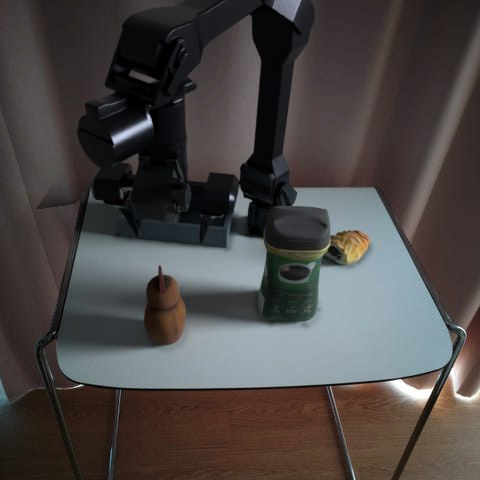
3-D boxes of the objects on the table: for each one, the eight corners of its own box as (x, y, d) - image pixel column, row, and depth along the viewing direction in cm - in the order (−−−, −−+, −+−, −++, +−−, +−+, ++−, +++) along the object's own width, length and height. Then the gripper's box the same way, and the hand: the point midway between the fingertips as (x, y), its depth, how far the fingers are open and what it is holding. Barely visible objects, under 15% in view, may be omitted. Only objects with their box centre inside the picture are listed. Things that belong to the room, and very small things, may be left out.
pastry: (349, 232, 96) (353, 216, 93) (377, 250, 93) (382, 233, 90) (317, 252, 92) (320, 236, 89) (345, 271, 88) (350, 254, 86)
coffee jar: (313, 291, 84) (332, 198, 71) (317, 326, 79) (338, 232, 65) (257, 289, 84) (265, 195, 71) (256, 323, 79) (265, 228, 65)
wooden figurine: (179, 355, 74) (172, 281, 63) (142, 348, 75) (129, 274, 64) (191, 322, 78) (187, 248, 67) (156, 316, 79) (146, 242, 68)
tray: (234, 214, 99) (234, 197, 96) (226, 247, 92) (227, 230, 89) (133, 204, 100) (131, 187, 97) (119, 236, 93) (116, 218, 90)
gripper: (63, 160, 55) (88, 266, 66) (229, 178, 54) (225, 283, 65) (96, 116, 63) (113, 219, 74) (241, 131, 62) (236, 233, 73)
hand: (170, 238), depth 71 cm, fingers open, 9 cm apart
